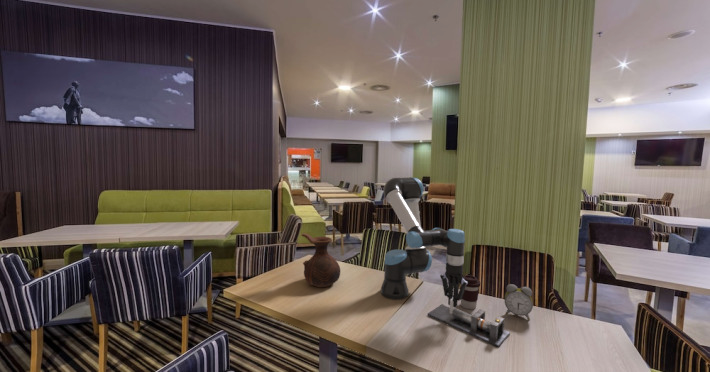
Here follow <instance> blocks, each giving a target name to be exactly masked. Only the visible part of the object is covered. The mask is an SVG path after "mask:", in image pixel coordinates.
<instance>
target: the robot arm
mask: <svg viewBox="0 0 710 372" xmlns="http://www.w3.org/2000/svg"><path fill="white" fill-rule="evenodd" d="M423 195H424V185H423V182H422V181H421V180H420V179H419V178H417V177H392V178H390V179H389V180H387V181H386V182H385V184H384V186H383V196H384V199H385V201H386V202H387V203H388V204H390V205H391V208H392V209H393V211H394V213H395V215H396V216H397V218H398V220H399V221H400V223H401V225H402V227H403V229H404V231H405V234H406V236H405V241H406V245H407V246H406V247H405V248H404V249H398V248H397V249H392V250H389V251H387V252H386V253H385V256H384V273H383V274H384V277H383V278H384V279H383V282H382V284H381V287H380V294H381V296H383V297H384V298H387V299H390V300H403V299H406V298H407V297H408V296H409V293H410V291H409V287H408V285H407V278H406V277H407V275H410V274H416V273H424V272H427V271H429V270H430V269H431V267H432V263H433V257H432V254H431V252H430V250H427V247H436V246H437V247H438V246H442V247H444V248H446V255H445V257H446V258H445V262H446V263H445V272H444V273H442V274H440V275H439V277H440V279H441V283H442V288H443V293H444V295H443V296H445V297H447V298H448V300H447V301H448V303H447V304H448V306H449V308H450V311H449V313H451V314H452V312H453V310H454V309H455V308H458V302H460V301H461V299H462V297H463V293H464V290H465V287H466V285H467V284H468V281H465V280H464V279H463V278H464V277H463V276H464V262H465V260H464V257H465V256H464V255H465V241H466V239H465V238H466V237H465V231H463V230H462V229H458V228H449V229H448V230H445V229H443V228H441V227H434V228H432V229H431V230H424V228H423V227H422V225H421V217H420V207H419V202H420V201H421V197H422V196H423ZM461 281H462V283H461V284H462V285H461V287H459V286H460V282H461Z"/></svg>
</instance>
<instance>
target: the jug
mask: <svg viewBox="0 0 710 372" xmlns="http://www.w3.org/2000/svg"><path fill="white" fill-rule="evenodd" d="M301 236H302V237H304V238H305V239H306V240H308V242H309V243H311V244H313V245H314V247H315V251H314V254H313V255H312V256H311V257H310V258H309V259H308V260H305V261H303V262H302V265H303V266H304V270H303V276H304V279H305V281H306V283H307V284H308V285H311V286H314V287H316V288H327V287H330V286H332V285H333V284H335V283H336V282H338V280H339V279H340V276H341V267H340V265H339V262H338V260H336V259H335V258H334V257H333V256H332V255H331V254H329V252H328V247H329V246H328V245H329V244H330V243H331V242H332V241H333V239H332V238H331V237H329V236H314V237H313V236H311V235H310V234H309V233H305V232H302V233H301Z"/></svg>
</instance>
